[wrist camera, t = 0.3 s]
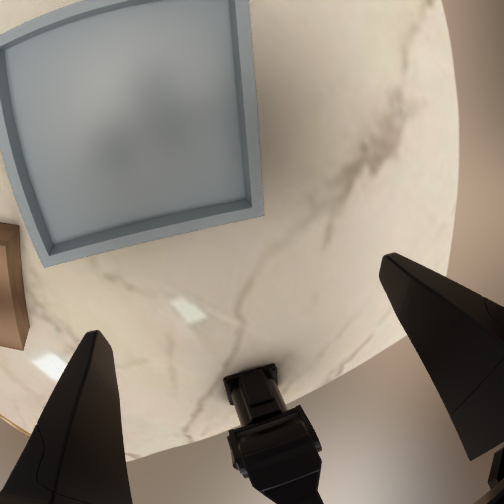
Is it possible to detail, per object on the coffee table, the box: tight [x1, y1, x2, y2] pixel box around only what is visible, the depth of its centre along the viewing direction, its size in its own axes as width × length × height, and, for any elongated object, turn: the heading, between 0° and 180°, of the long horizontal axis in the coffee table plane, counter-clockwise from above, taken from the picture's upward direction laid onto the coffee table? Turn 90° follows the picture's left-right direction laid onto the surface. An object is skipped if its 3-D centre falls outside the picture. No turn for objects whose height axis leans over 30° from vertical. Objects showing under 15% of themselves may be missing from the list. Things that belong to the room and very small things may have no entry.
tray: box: [0, 0, 264, 268], centre depth 16 cm, size 16×16×2 cm
